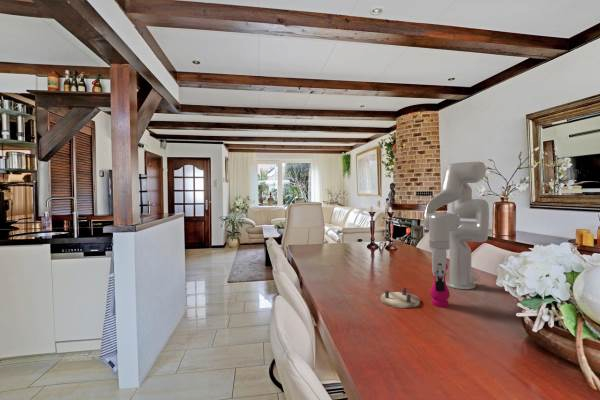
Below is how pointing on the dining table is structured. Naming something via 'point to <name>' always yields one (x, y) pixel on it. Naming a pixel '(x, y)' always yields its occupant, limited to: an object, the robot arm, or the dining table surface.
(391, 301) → the dowel board
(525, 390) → the dining table surface
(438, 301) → the pepper mill
